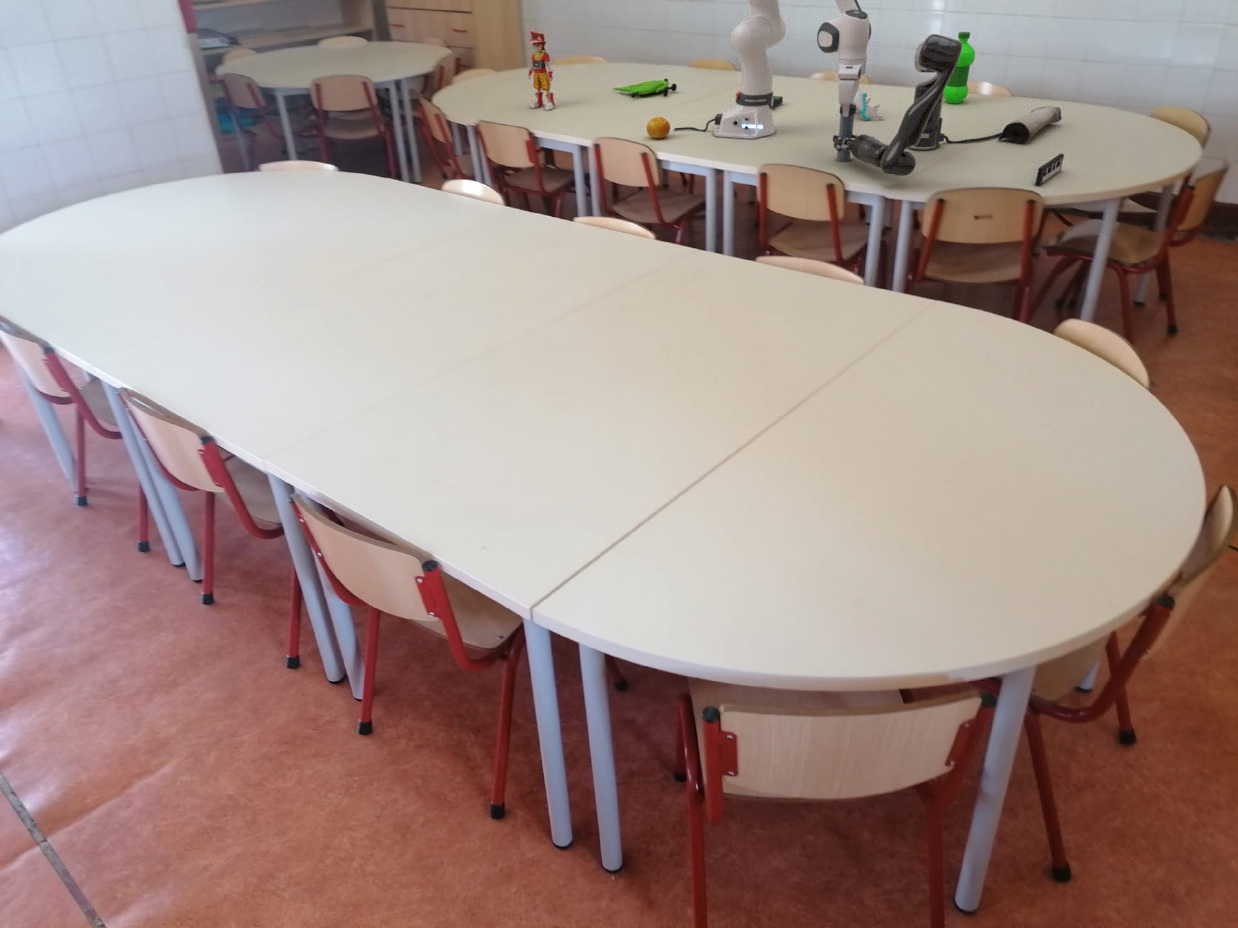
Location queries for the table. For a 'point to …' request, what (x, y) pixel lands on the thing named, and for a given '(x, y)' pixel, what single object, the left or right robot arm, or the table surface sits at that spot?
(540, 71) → the toy
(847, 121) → the jar
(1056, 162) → the midi keyboard
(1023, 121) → the rolled mat
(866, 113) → the anatomical model
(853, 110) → the lid
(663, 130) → the fruit
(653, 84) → the toy
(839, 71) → the left robot arm
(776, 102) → the disk drive
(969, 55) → the plastic bottle
